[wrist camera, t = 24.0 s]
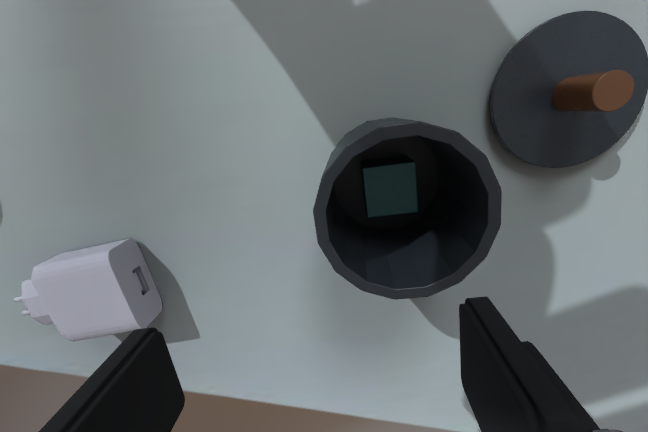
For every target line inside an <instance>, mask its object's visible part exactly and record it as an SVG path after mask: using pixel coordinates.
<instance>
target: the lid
mask: <svg viewBox="0 0 648 432" xmlns="http://www.w3.org/2000/svg"><path fill="white" fill-rule="evenodd" d="M647 90H648V56H647V52H646V50H645V47H644V45H643V43H642V41H641V39H640V38H639V36H638V35H637V33H636V32H635V31H634V30H633V29H632V28H631V27H630V26H629V25H628V24H626V23H625V22H624V21H622V20H620V19H619V18H617V17H615V16H612V15H609V14H607V13H602V12H597V11H578V12H572V13H567V14H563V15H561V16H558V17H555V18H552V19H550V20H548V21H546V22H544V23H542V24H540V25H539V26H537V27H536V28H534V29H533V30H531V31H530V32H528V33H527V34H526V35H525V36H524V37H523V38H521V39H520V40H519V41H518V42H517V43H516V45H515V46H514V47H513V48H512V49H511V50H510V52H509V53H508V54H507V56H506V57H505V59H504V61H503V62H502V64H501V66H500V68H499V70H498V72H497V74H496V77H495V80H494V83H493V86H492V91H491V98H490V114H491V119H492V124H493V127H494V130H495V132H496V134H497V136H498V138H499V140H500V141H501V143H502V144H503V145H504V147H505V148H506V149H507V150H508V151H509V152H510V153H512V154H513V155H514V156H516V157H517V158H519V159H521V160H523V161H525V162H527V163H530V164H533V165H537V166H542V167H551V168H557V167H567V166H573V165H576V164H579V163H583V162H585V161H587V160H590V159H592V158H594V157H596V156H598V155H600V154H601V153H603V152H604V151H606V150H607V149H609V148H610V147H611V146H612V145H614V144H615V143H616V142H617V141H618V140H619V139H620V138H621V137H622V136H623V135H624V134H625V133H626V132H627V130H628V129H629V128H630V127H631V125H632V124H633V122H634V121H635V119H636V118H637V116H638V114H639V112H640V110H641V108H642V106H643V104H644V101H645V98H646V95H647Z"/></svg>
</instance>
